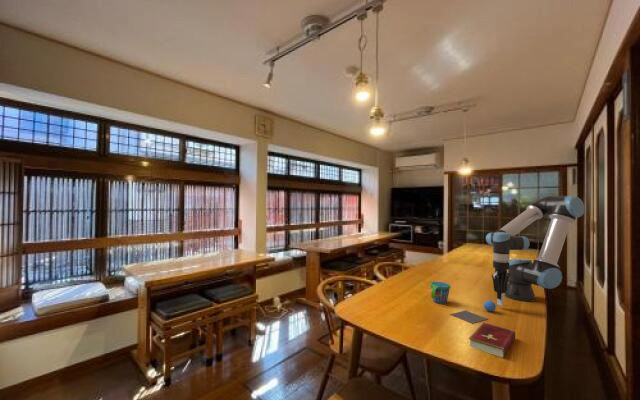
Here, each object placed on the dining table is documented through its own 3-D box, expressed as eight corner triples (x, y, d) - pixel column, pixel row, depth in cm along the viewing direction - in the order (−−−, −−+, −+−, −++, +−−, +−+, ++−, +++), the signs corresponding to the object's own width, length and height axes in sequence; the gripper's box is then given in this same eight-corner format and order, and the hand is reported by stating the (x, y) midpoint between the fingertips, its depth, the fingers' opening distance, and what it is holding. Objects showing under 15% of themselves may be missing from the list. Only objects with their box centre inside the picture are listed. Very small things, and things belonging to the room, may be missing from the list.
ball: (491, 309, 152) (491, 299, 152) (498, 313, 147) (498, 302, 147) (481, 309, 152) (481, 299, 152) (487, 313, 147) (488, 302, 147)
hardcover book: (515, 340, 119) (515, 330, 119) (504, 360, 104) (504, 348, 104) (483, 330, 128) (483, 321, 128) (468, 347, 112) (468, 337, 112)
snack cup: (439, 296, 171) (440, 279, 171) (456, 302, 162) (456, 284, 162) (423, 301, 163) (423, 283, 163) (440, 307, 154) (440, 288, 154)
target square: (465, 310, 150) (465, 310, 150) (488, 319, 139) (488, 318, 139) (450, 314, 144) (450, 314, 144) (472, 323, 133) (472, 323, 133)
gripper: (501, 258, 160) (500, 300, 160) (486, 260, 154) (486, 304, 154) (515, 261, 153) (514, 305, 153) (501, 263, 147) (500, 309, 147)
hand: (500, 304), depth 154 cm, fingers closed
